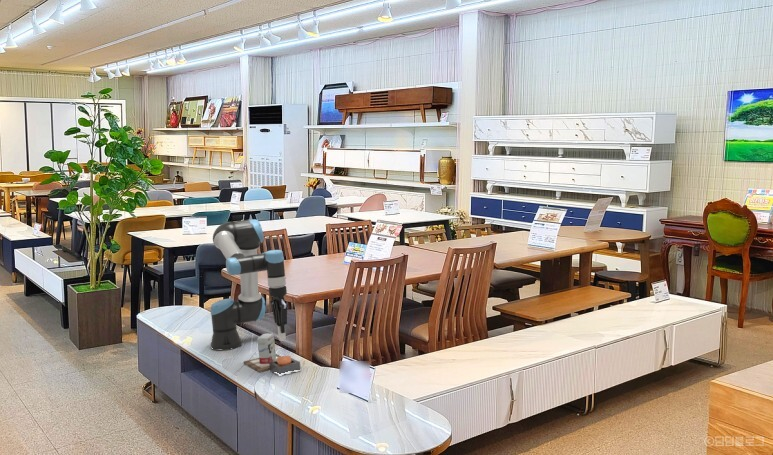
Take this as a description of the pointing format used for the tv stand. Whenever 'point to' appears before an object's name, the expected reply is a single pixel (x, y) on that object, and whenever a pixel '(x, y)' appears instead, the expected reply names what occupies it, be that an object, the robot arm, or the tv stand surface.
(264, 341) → the ink box
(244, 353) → the tv stand surface
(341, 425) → the tv stand surface
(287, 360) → the button cap
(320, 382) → the tv stand surface
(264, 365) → the wooden picture frame
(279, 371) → the button housing
